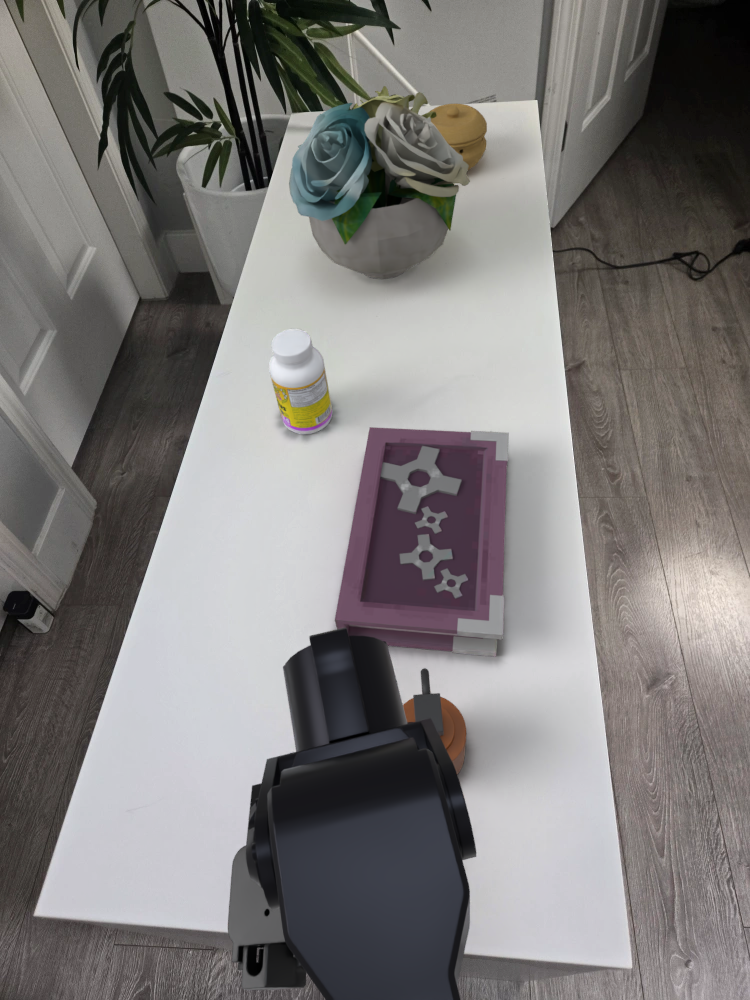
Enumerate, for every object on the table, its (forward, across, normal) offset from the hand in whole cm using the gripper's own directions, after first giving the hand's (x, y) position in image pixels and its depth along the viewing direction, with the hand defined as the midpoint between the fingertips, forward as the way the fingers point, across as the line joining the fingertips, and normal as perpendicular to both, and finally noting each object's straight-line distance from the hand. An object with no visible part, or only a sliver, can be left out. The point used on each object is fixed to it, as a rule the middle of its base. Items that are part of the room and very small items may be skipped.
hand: (397, 911), depth 47 cm
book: (+13, -37, +5) cm, 39 cm away
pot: (+14, -116, +15) cm, 117 cm away
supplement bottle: (+14, -58, -9) cm, 60 cm away
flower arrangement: (+14, -89, +2) cm, 90 cm away
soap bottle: (+13, -14, +3) cm, 19 cm away
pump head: (+5, -15, +3) cm, 16 cm away
